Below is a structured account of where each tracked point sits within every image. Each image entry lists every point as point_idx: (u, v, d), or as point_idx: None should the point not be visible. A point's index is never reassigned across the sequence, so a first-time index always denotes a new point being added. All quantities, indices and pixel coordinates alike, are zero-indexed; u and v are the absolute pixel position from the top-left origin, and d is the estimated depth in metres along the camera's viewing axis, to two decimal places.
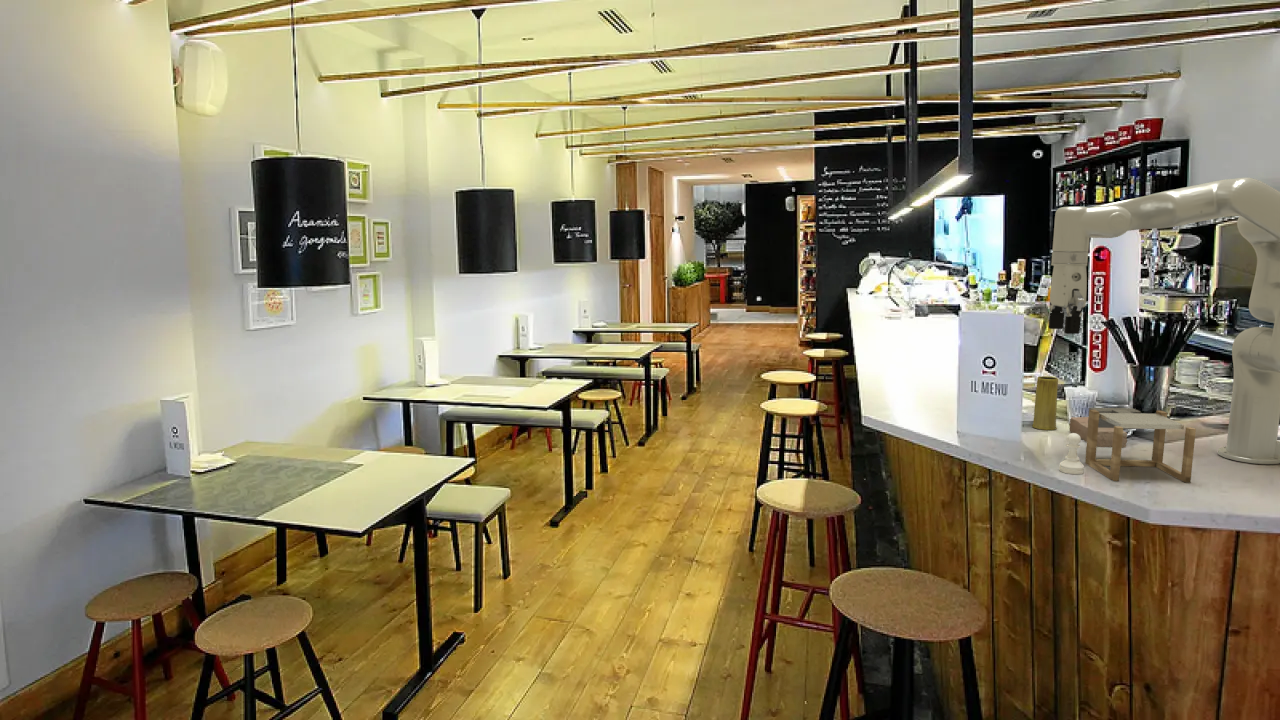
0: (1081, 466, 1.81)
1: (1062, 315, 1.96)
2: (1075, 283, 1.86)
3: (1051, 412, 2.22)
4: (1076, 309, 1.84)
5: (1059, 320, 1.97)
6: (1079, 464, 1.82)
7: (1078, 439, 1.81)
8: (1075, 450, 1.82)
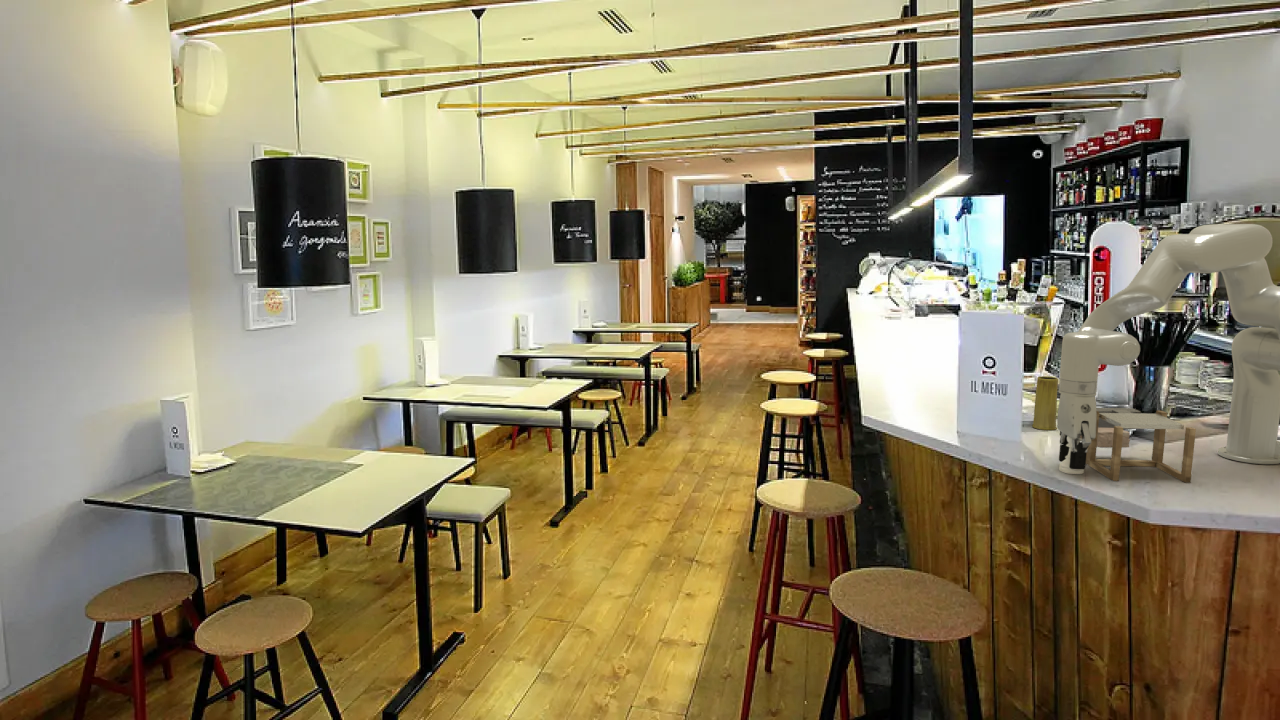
0: None
1: None
2: (1084, 415, 1.77)
3: (1051, 412, 2.22)
4: (1081, 447, 1.77)
5: None
6: None
7: None
8: None
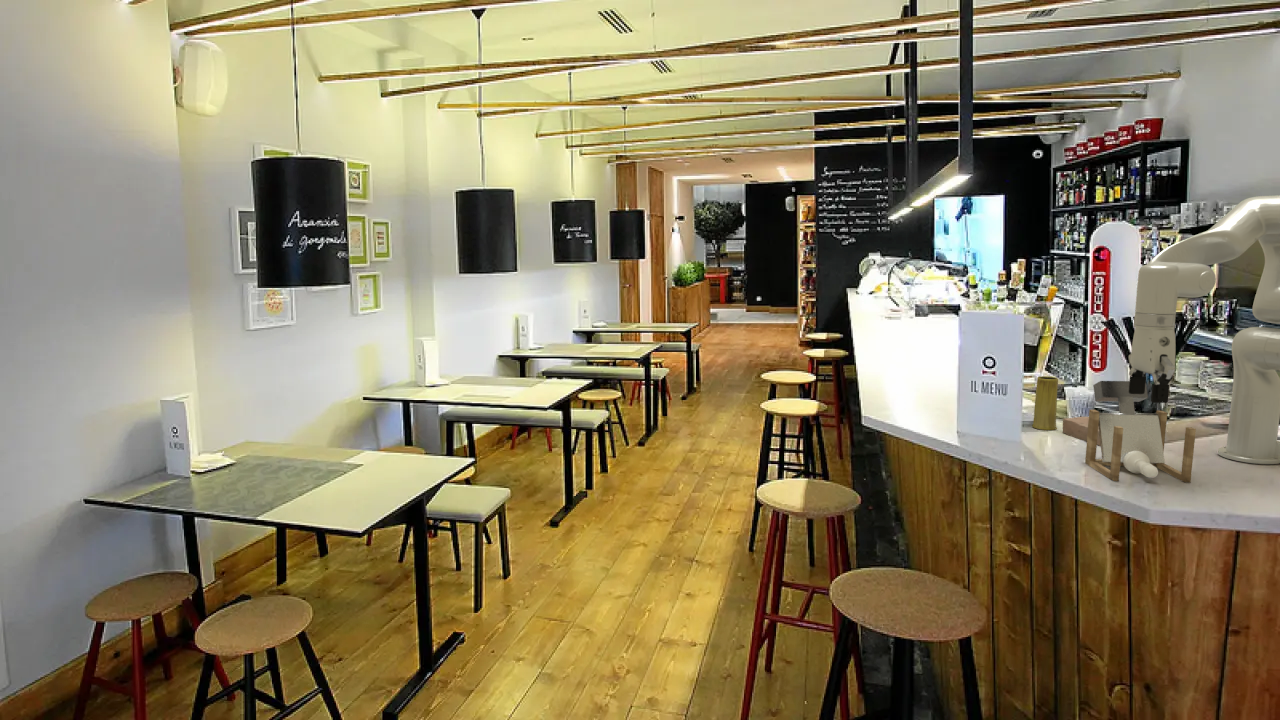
0: None
1: (1144, 379, 1.81)
2: (1163, 348, 1.71)
3: (1051, 412, 2.22)
4: (1165, 377, 1.69)
5: (1140, 385, 1.81)
6: None
7: None
8: None
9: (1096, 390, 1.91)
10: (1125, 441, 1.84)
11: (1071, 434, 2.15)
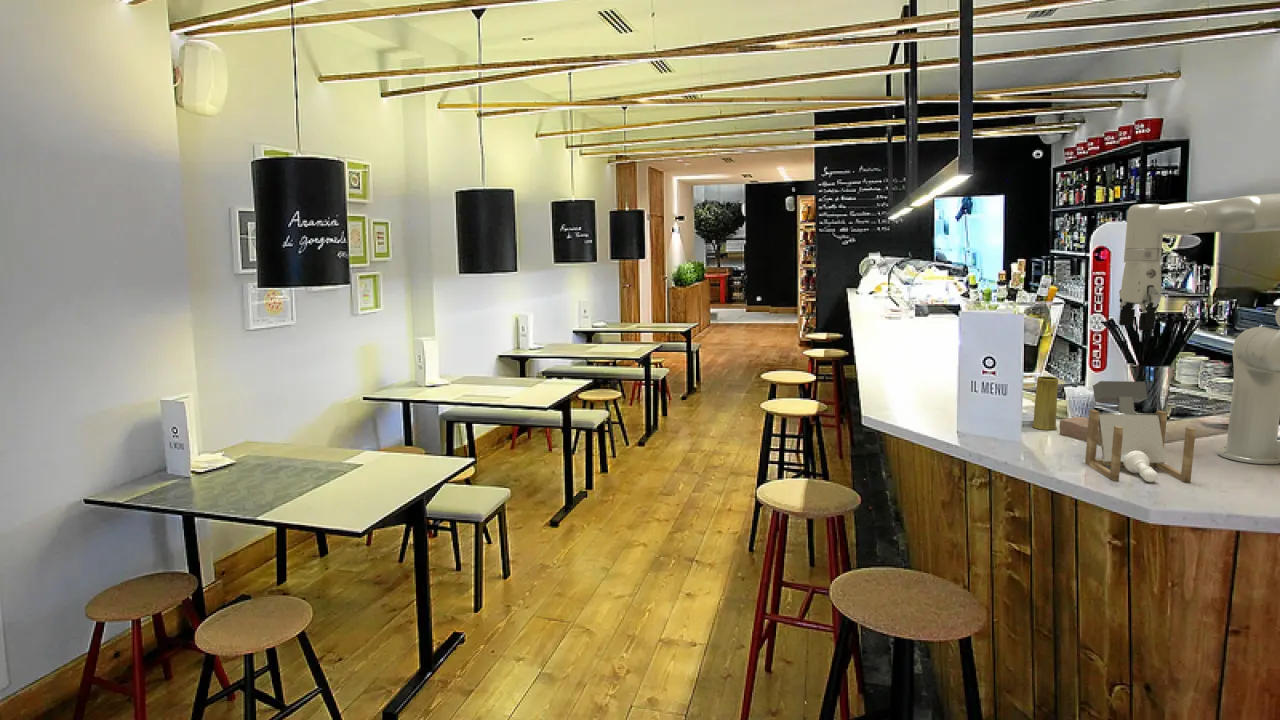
0: None
1: (1133, 311, 1.98)
2: (1150, 280, 1.88)
3: (1051, 412, 2.22)
4: (1152, 305, 1.86)
5: (1130, 316, 1.98)
6: None
7: None
8: None
9: (1096, 391, 1.91)
10: (1125, 441, 1.84)
11: (1070, 435, 2.14)
